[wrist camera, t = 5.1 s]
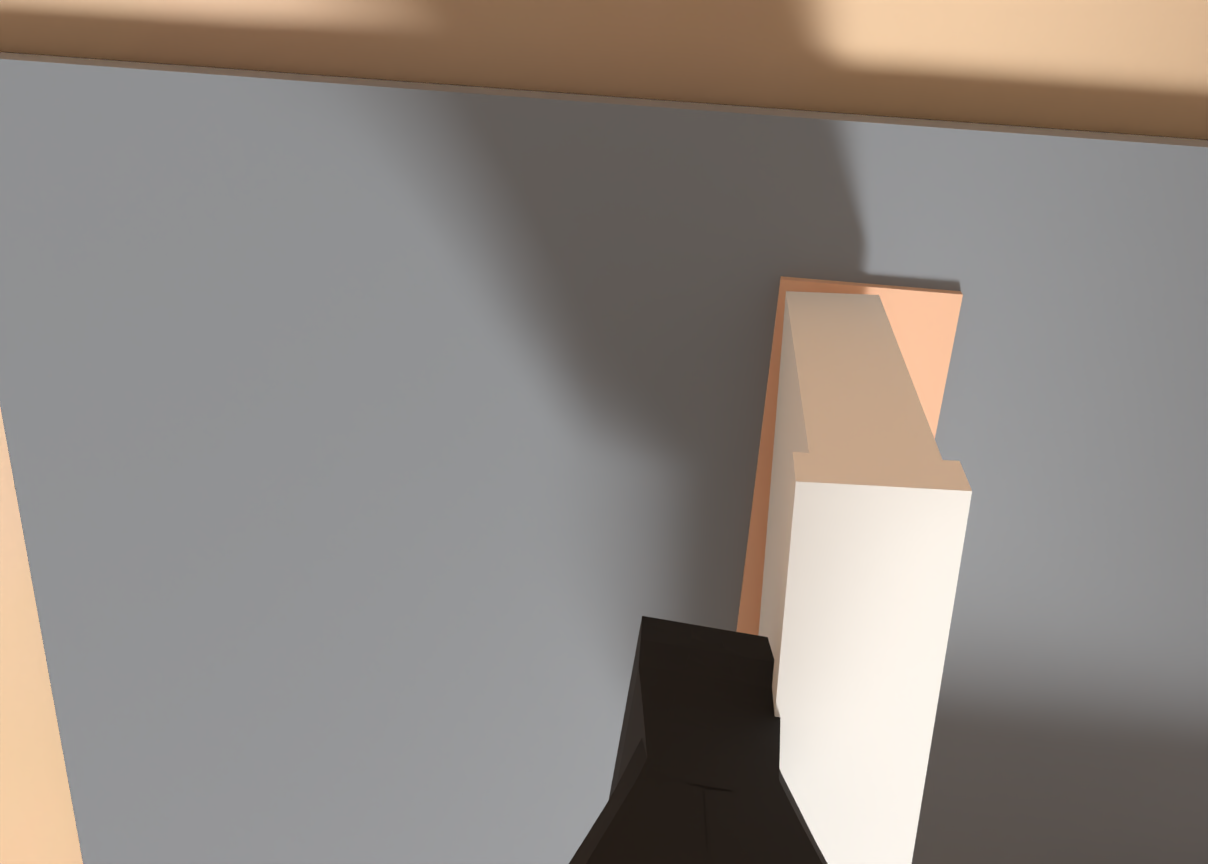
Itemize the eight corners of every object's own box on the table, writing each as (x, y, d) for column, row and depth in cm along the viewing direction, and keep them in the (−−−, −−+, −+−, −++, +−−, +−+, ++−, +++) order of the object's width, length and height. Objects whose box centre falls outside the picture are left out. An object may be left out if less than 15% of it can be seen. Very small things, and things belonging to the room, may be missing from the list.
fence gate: (816, 914, 13) (846, 1264, 10) (727, 906, 13) (725, 1251, 10) (890, 295, 10) (972, 491, 7) (774, 290, 10) (796, 481, 7)
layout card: (1676, 173, 10) (1720, 187, 9) (1190, 1257, 16) (1203, 1296, 15) (-37, 49, 11) (-71, 54, 10) (145, 1111, 17) (129, 1144, 16)
